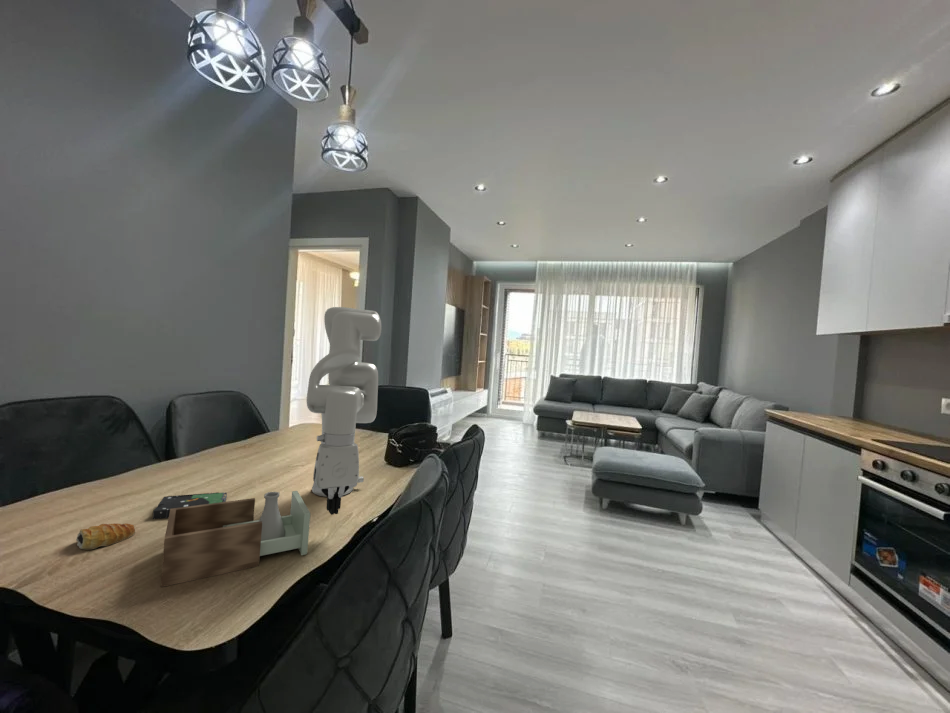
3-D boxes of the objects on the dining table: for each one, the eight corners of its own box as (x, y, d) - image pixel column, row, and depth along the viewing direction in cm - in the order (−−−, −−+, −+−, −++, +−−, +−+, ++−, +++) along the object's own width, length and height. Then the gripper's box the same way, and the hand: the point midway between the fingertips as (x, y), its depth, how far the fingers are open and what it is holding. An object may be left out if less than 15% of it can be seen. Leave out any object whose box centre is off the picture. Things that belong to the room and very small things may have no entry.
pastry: (128, 529, 92) (130, 513, 92) (139, 538, 88) (140, 522, 88) (73, 543, 84) (74, 526, 84) (81, 554, 80) (83, 536, 80)
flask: (259, 529, 92) (262, 487, 92) (290, 530, 92) (294, 489, 92) (244, 544, 84) (247, 499, 84) (278, 545, 85) (282, 500, 85)
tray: (294, 526, 98) (297, 490, 98) (307, 554, 86) (310, 512, 86) (221, 539, 89) (224, 499, 89) (224, 571, 77) (227, 526, 77)
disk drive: (152, 522, 97) (222, 514, 103) (152, 511, 97) (223, 504, 103) (162, 506, 106) (226, 500, 113) (163, 496, 106) (227, 490, 113)
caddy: (251, 535, 93) (254, 498, 93) (258, 565, 81) (262, 523, 81) (167, 550, 84) (170, 508, 84) (160, 587, 71) (164, 538, 71)
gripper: (310, 444, 89) (304, 524, 89) (373, 440, 98) (367, 512, 98) (303, 437, 95) (297, 511, 95) (363, 434, 104) (357, 502, 104)
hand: (333, 512), depth 96 cm, fingers closed
